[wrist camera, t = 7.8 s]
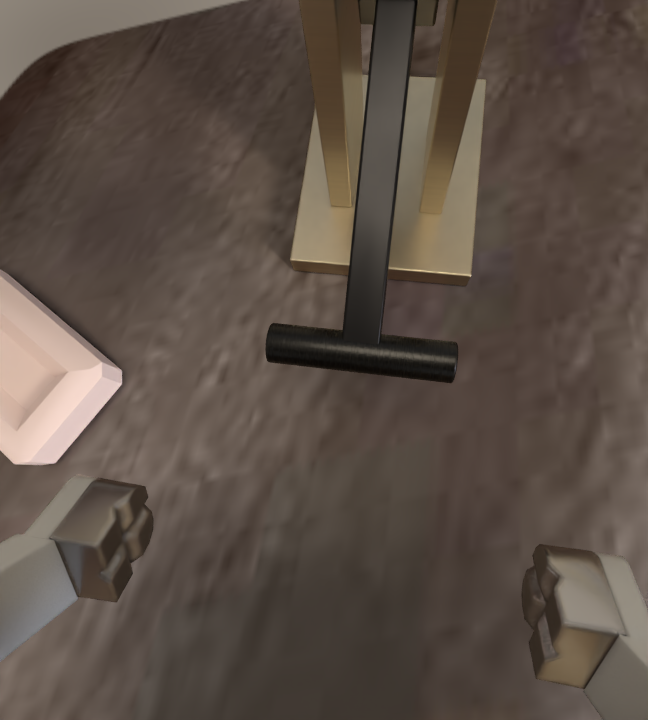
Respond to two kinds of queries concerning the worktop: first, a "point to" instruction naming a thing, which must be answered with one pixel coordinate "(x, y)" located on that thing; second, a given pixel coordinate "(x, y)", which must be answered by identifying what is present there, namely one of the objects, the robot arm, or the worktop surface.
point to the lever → (374, 223)
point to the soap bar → (45, 379)
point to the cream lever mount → (418, 156)
